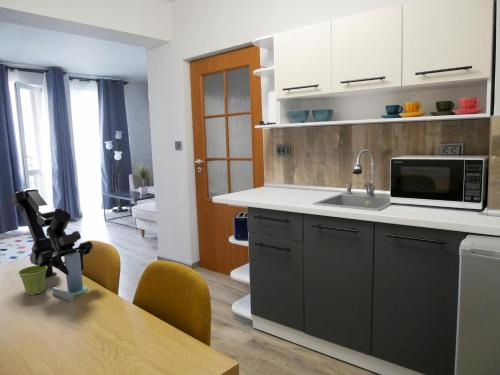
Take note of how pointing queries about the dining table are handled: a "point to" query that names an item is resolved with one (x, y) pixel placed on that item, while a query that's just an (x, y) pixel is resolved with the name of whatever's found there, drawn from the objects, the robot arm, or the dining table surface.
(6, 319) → the dining table surface
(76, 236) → the robot arm
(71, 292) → the coaster
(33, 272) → the plant pot
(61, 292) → the acrylic wall
